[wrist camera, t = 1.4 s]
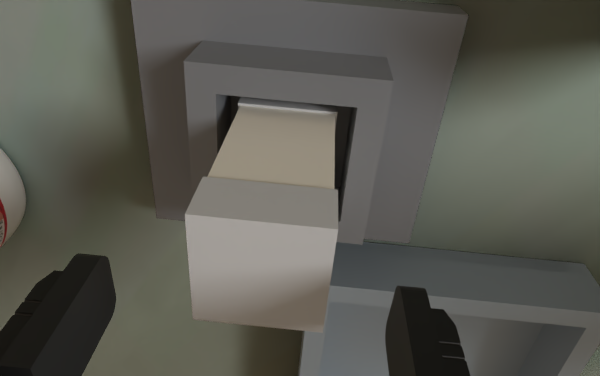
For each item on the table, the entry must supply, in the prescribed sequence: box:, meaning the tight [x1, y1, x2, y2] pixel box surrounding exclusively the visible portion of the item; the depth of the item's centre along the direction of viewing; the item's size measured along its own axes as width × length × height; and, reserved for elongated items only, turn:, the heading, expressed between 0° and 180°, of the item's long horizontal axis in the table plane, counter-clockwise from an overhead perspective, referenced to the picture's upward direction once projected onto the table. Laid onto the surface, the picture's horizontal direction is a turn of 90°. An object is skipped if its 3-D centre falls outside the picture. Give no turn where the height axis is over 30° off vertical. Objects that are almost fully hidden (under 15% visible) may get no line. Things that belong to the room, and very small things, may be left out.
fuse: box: [185, 97, 338, 333], centre depth 18 cm, size 4×4×10 cm
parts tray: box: [298, 242, 600, 376], centre depth 30 cm, size 16×16×4 cm
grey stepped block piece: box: [131, 0, 469, 245], centre depth 22 cm, size 14×12×5 cm
